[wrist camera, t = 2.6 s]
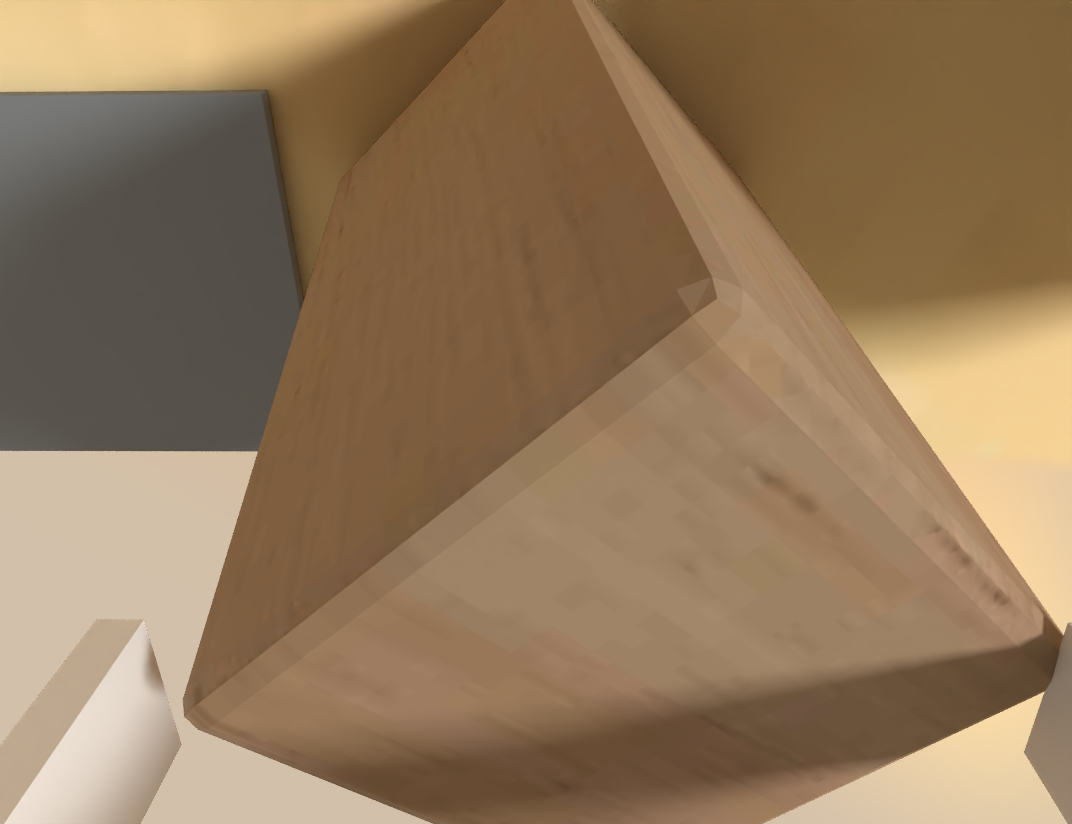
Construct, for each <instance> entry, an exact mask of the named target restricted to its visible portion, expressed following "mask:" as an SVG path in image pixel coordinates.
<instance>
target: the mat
mask: <svg viewBox="0 0 1072 824" xmlns="http://www.w3.org/2000/svg"><path fill="white" fill-rule="evenodd" d="M303 302H304V299H303V293H302V288H301V282H300V276H299V271H298V265H297V259H296V253H295V248H294V242H293V236H292V231H291V225H290V219H289V214H288V208H287V202H286V196H285V191H284V185H283V179H282V174H281V168H280V162H279V157H278V151H277V145H276V139H275V134H274V128H273V122H272V117H271V111H270V105H269V100H268V94H267V90H242V91H102V92H0V451H4V450H5V451H10V450H11V451H258V450H259V447H260V444H261V440H262V437H263V434H264V430H265V427H266V424H267V421H268V417H269V414H270V411H271V407H272V404H273V401H274V397H275V394H276V391H277V388H278V384H279V381H280V378H281V374H282V371H283V368H284V365H285V361H286V358H287V355H288V351H289V348H290V345H291V341H292V338H293V335H294V332H295V328H296V325H297V322H298V318H299V315H300V312H301V308H302V305H303Z"/></svg>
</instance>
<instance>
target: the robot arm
mask: <svg viewBox="0 0 1072 824" xmlns="http://www.w3.org/2000/svg"><path fill="white" fill-rule="evenodd" d="M180 746H181V742H180V738H179V735H178V732H177V728H176V725H175V722H174V719H173V715H172V712H171V708H170V705H169V702H168V698H167V695H166V692H165V689H164V685H163V682H162V678H161V675H160V672H159V669H158V665H157V662H156V658H155V655H154V652H153V649H152V645H151V642H150V639H149V635H148V632H147V629H146V626H145V622H144V620H96V621H95V622H94V623H93V625H92V626H91V627H90V629H89V630H88V631H87V633H86V634H85V635H84V637H83V638H82V639H81V640H80V642H79V643H78V645H77V646H76V647H75V648H74V650H73V651H72V652H71V654H70V655H69V656H68V658H67V659H66V660H65V661H64V663H63V664H62V665H61V667H60V668H59V669H58V671H57V672H56V673H55V675H54V676H53V677H52V678H51V680H50V681H49V682H48V684H47V685H46V686H45V688H44V689H43V690H42V692H41V693H40V694H39V695H38V697H37V698H36V699H35V701H34V702H33V703H32V705H31V706H30V707H29V709H28V710H27V711H26V713H25V714H24V715H23V717H22V718H21V719H20V721H19V722H18V723H17V725H16V726H15V727H14V728H13V730H12V731H11V732H10V734H9V735H8V736H7V737H6V739H5V740H4V741H3V743H2V744H1V746H0V824H141V822H142V820H143V818H144V816H145V814H146V812H147V810H148V808H149V806H150V804H151V802H152V800H153V798H154V796H155V795H156V793H157V791H158V789H159V787H160V785H161V782H162V781H163V779H164V777H165V775H166V773H167V771H168V769H169V768H170V765H171V764H172V762H173V760H174V758H175V756H176V754H177V752H178V750H179V748H180ZM1024 753H1025V755H1026V756H1027V758H1028V759H1029V761H1030V763H1031V764H1032V766H1033V767H1034V769H1035V771H1036V772H1037V774H1038V776H1039V777H1040V779H1041V781H1042V782H1043V784H1044V786H1045V787H1046V789H1047V790H1048V792H1049V793H1050V795H1051V797H1052V799H1053V800H1054V802H1055V804H1056V805H1057V807H1058V808H1059V810H1060V812H1061V813H1062V815H1063V817H1064V818H1065V820H1066V821H1067V823H1068V824H1072V623H1068V625H1067V627H1066V630H1065V634H1064V636H1063V639H1062V642H1061V645H1060V648H1059V655H1058V659H1057V663H1056V667H1055V670H1054V674H1053V678H1052V681H1051V682H1050V684H1049V686H1048V687H1047V689H1045V693H1044V695H1043V698H1042V701H1041V704H1040V707H1039V710H1038V713H1037V716H1036V719H1035V722H1034V725H1033V728H1032V731H1031V733H1030V736H1029V739H1028V742H1027V745H1026V748H1025V751H1024Z"/></svg>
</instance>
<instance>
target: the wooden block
mask: <svg viewBox="0 0 1072 824" xmlns="http://www.w3.org/2000/svg"><path fill="white" fill-rule="evenodd" d="M1063 636H1064V635H1063V634H1062V632H1061V631H1060V630H1059V628H1058V627H1057V625H1056V624H1055V622H1054V621H1053V620H1052V618H1051V617H1050V615H1049V614H1048V613H1047V611H1046V610H1045V609H1044V607H1043V606H1042V604H1041V603H1040V601H1039V600H1038V598H1037V597H1036V596H1035V594H1034V593H1033V592H1032V590H1031V588H1030V587H1029V586H1028V584H1027V583H1026V581H1025V580H1024V579H1023V577H1022V576H1021V574H1020V573H1019V572H1018V570H1017V569H1016V567H1015V566H1014V564H1013V563H1012V562H1011V560H1010V559H1009V557H1008V556H1007V554H1006V553H1005V552H1004V550H1003V549H1002V547H1001V546H1000V545H999V544H998V542H997V540H996V539H995V538H994V536H993V535H992V533H991V532H990V530H989V529H988V528H987V526H986V525H985V523H984V522H983V521H982V519H981V518H980V516H979V515H978V513H977V512H976V511H975V509H974V508H973V506H972V505H971V504H970V502H969V501H968V499H967V498H966V496H965V495H964V494H963V492H962V491H961V490H960V488H959V487H958V485H957V484H956V482H955V481H954V480H953V478H952V477H951V475H950V474H949V472H948V471H947V470H946V468H945V467H944V465H943V464H942V463H941V461H940V460H939V458H938V457H937V455H936V454H935V453H934V451H933V450H932V448H931V447H930V446H929V444H928V443H927V441H926V440H925V438H924V437H923V436H922V434H921V433H920V431H919V430H918V429H917V427H916V426H915V424H914V423H913V422H912V420H911V419H910V417H909V416H908V414H907V413H906V412H905V410H904V409H903V407H902V406H901V405H900V403H899V402H898V400H897V399H896V397H895V396H894V395H893V393H892V392H891V390H890V389H889V388H888V386H887V385H886V383H885V382H884V380H883V379H882V378H881V376H880V375H879V373H878V372H877V371H876V369H875V368H874V366H873V365H872V364H871V362H870V361H869V359H868V358H867V356H866V355H865V354H864V352H863V351H862V349H861V348H860V347H859V345H858V344H857V342H856V341H855V339H854V338H853V337H852V335H851V334H850V332H849V331H848V330H847V328H846V327H845V325H844V324H843V322H842V321H841V320H840V318H839V317H838V315H837V314H836V313H835V311H834V310H833V308H832V307H831V306H830V304H829V303H828V301H827V300H826V298H825V297H824V296H823V294H822V293H821V291H820V290H819V289H818V287H817V286H816V284H815V283H814V281H813V280H812V279H811V277H810V276H809V274H808V273H807V272H806V270H805V269H804V267H803V266H802V264H801V263H800V262H799V260H798V259H797V257H796V256H795V255H794V253H793V252H792V250H791V249H790V248H789V246H788V245H787V243H786V242H785V240H784V239H783V238H782V236H781V235H780V233H779V232H778V231H777V229H776V228H775V226H774V225H773V223H772V222H771V221H770V219H769V218H768V216H767V215H766V214H765V212H764V211H763V209H762V208H761V206H760V205H759V204H758V202H757V201H756V199H755V198H754V197H753V195H752V194H751V192H750V191H749V190H748V188H747V187H746V185H745V184H744V182H743V181H742V180H741V178H740V177H739V176H738V175H737V173H736V172H735V171H734V170H733V169H732V167H731V166H730V165H729V164H728V163H727V161H726V160H725V159H724V158H723V157H722V155H721V154H720V153H719V152H718V151H717V149H716V148H715V147H714V146H713V145H712V143H711V142H710V141H709V140H708V139H707V137H706V136H705V135H704V134H703V133H702V131H701V130H700V129H699V128H698V127H697V125H696V124H695V123H694V122H693V121H692V119H691V118H690V117H689V116H688V115H687V114H686V112H685V111H684V110H683V109H682V108H681V106H680V105H679V104H678V103H677V102H676V100H675V99H674V98H673V97H672V96H671V94H670V93H669V92H668V91H667V90H666V88H665V87H664V86H663V85H662V84H661V82H660V81H659V80H658V79H657V78H656V76H655V75H654V74H653V73H652V72H651V70H650V69H649V68H648V67H647V66H646V64H645V63H644V62H643V61H642V60H641V58H640V57H639V56H638V55H637V54H636V52H635V51H634V50H633V49H632V48H631V46H630V45H629V44H628V43H627V42H626V40H625V39H624V38H623V37H622V36H621V34H620V33H619V32H618V31H617V30H616V28H615V27H614V26H613V25H612V24H611V22H610V21H609V20H608V19H607V18H606V16H605V15H604V14H603V13H602V12H601V10H600V9H599V8H598V7H597V6H596V4H595V3H594V2H593V1H592V0H506V1H505V2H504V3H503V4H502V5H501V6H500V7H499V8H498V9H497V10H496V12H495V13H494V14H493V15H492V16H491V17H490V18H489V19H488V20H487V21H486V22H485V23H484V25H483V26H482V27H481V28H480V29H479V30H478V31H477V32H476V33H475V34H474V35H473V37H472V38H471V39H470V40H469V41H468V42H467V43H466V44H465V45H464V46H463V47H462V49H461V50H460V51H459V52H458V53H457V54H456V55H455V56H454V57H453V58H452V59H451V61H450V62H449V63H448V64H447V65H446V66H445V67H444V68H443V69H442V70H441V71H440V72H439V74H438V75H437V76H436V77H435V78H434V79H433V80H432V81H431V82H430V83H429V84H428V86H427V87H426V88H425V89H424V90H423V91H422V92H421V93H420V94H419V95H418V96H417V98H416V99H415V100H414V101H413V102H412V103H411V104H410V105H409V106H408V107H407V108H406V109H405V111H404V112H403V113H402V114H401V115H400V116H399V117H398V118H397V119H396V120H395V121H394V123H393V124H392V125H391V126H390V127H389V128H388V129H387V130H386V131H385V132H384V133H383V135H382V136H381V137H380V138H379V139H378V140H377V141H376V142H375V143H374V144H373V145H372V146H371V148H370V149H369V150H368V151H367V152H366V153H365V154H364V155H363V156H362V157H361V158H360V160H359V161H358V162H357V163H356V164H355V165H354V166H353V167H352V168H351V169H350V170H349V172H348V173H347V174H346V175H345V176H344V177H343V178H342V179H341V180H340V183H339V187H338V190H337V193H336V196H335V200H334V203H333V206H332V210H331V213H330V216H329V219H328V223H327V226H326V229H325V233H324V236H323V239H322V243H321V246H320V249H319V252H318V256H317V259H316V262H315V266H314V269H313V272H312V276H311V279H310V282H309V285H308V289H307V292H306V295H305V299H304V302H303V305H302V308H301V312H300V315H299V318H298V322H297V325H296V328H295V332H294V335H293V338H292V341H291V345H290V348H289V351H288V355H287V358H286V361H285V365H284V368H283V371H282V374H281V378H280V381H279V384H278V388H277V391H276V394H275V397H274V401H273V404H272V407H271V411H270V414H269V417H268V421H267V424H266V427H265V430H264V434H263V437H262V440H261V444H260V447H259V450H258V454H257V457H256V460H255V464H254V467H253V470H252V473H251V477H250V480H249V483H248V487H247V490H246V493H245V496H244V500H243V503H242V506H241V510H240V513H239V516H238V519H237V523H236V526H235V530H234V533H233V536H232V539H231V543H230V546H229V549H228V553H227V556H226V559H225V562H224V566H223V569H222V572H221V575H220V579H219V582H218V586H217V589H216V592H215V595H214V599H213V602H212V605H211V609H210V612H209V615H208V618H207V622H206V625H205V628H204V632H203V635H202V638H201V641H200V645H199V648H198V651H197V655H196V658H195V662H194V664H193V668H192V671H191V674H190V678H189V681H188V684H187V688H186V691H185V694H184V697H183V706H184V716H185V718H187V719H188V720H189V721H190V722H191V723H192V724H193V725H194V726H195V727H196V728H197V729H198V730H201V731H203V732H206V733H209V734H211V735H213V736H216V737H219V738H221V739H223V740H226V741H228V742H231V743H233V744H236V745H238V746H241V747H243V748H246V749H248V750H251V751H253V752H256V753H258V754H261V755H263V756H266V757H268V758H271V759H273V760H276V761H278V762H281V763H283V764H286V765H288V766H291V767H293V768H296V769H298V770H301V771H303V772H306V773H308V774H311V775H313V776H316V777H318V778H321V779H323V780H326V781H328V782H331V783H333V784H336V785H338V786H341V787H343V788H346V789H348V790H351V791H353V792H356V793H358V794H361V795H363V796H366V797H368V798H371V799H373V800H376V801H378V802H381V803H383V804H386V805H388V806H391V807H393V808H395V809H398V810H401V811H403V812H406V813H408V814H411V815H413V816H416V817H418V818H420V819H423V820H425V821H428V822H431V823H433V824H763V823H765V822H767V821H769V820H771V819H773V818H775V817H778V816H780V815H782V814H784V813H786V812H788V811H790V810H793V809H795V808H797V807H799V806H801V805H803V804H805V803H807V802H809V801H812V800H814V799H816V798H818V797H820V796H822V795H824V794H827V793H829V792H831V791H833V790H835V789H837V788H839V787H842V786H844V785H846V784H848V783H850V782H852V781H854V780H856V779H859V778H861V777H863V776H865V775H867V774H869V773H871V772H874V771H876V770H878V769H880V768H882V767H884V766H886V765H888V764H891V763H893V762H895V761H897V760H899V759H901V758H904V757H906V756H908V755H910V754H912V753H914V752H916V751H918V750H921V749H923V748H925V747H927V746H929V745H931V744H933V743H936V742H938V741H939V740H942V739H944V738H946V737H948V736H950V735H952V734H955V733H957V732H959V731H961V730H963V729H965V728H968V727H970V726H972V725H974V724H976V723H978V722H980V721H982V720H984V719H987V718H989V717H991V716H993V715H995V714H997V713H1000V712H1002V711H1004V710H1006V709H1008V708H1010V707H1012V706H1015V705H1017V704H1018V703H1021V702H1023V701H1025V700H1027V699H1029V698H1032V697H1034V696H1036V695H1038V694H1040V693H1042V692H1044V691H1045V689H1047V687H1048V686H1049V684H1050V682H1051V681H1052V678H1053V674H1054V670H1055V667H1056V663H1057V659H1058V655H1059V648H1060V645H1061V642H1062V639H1063Z"/></svg>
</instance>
